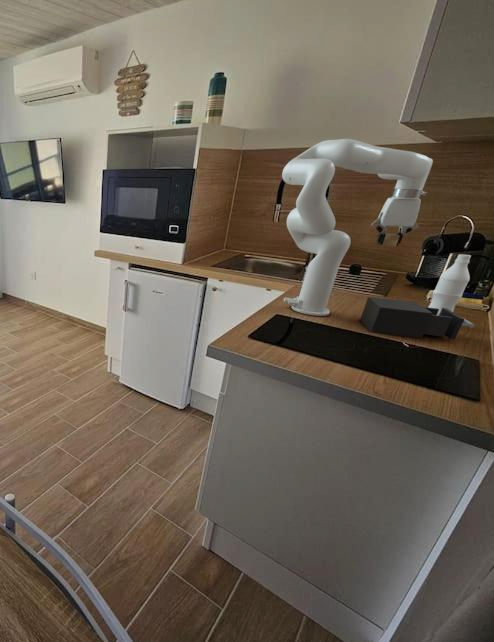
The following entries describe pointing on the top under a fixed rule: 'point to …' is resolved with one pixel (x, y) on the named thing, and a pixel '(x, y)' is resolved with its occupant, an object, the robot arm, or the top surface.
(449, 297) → the water bottle
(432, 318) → the drawer
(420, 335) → the dark grey rectangular box
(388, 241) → the block
